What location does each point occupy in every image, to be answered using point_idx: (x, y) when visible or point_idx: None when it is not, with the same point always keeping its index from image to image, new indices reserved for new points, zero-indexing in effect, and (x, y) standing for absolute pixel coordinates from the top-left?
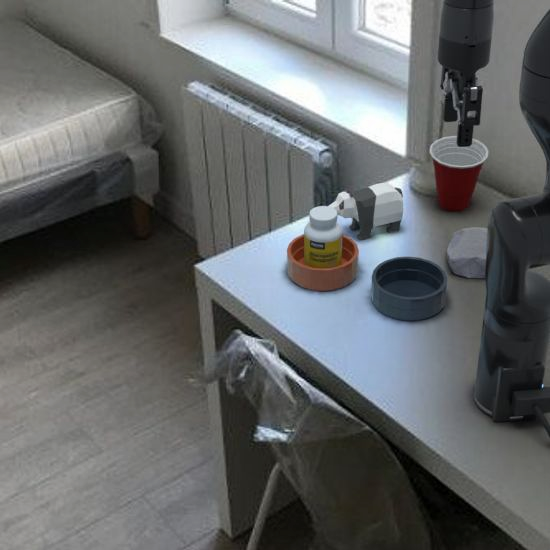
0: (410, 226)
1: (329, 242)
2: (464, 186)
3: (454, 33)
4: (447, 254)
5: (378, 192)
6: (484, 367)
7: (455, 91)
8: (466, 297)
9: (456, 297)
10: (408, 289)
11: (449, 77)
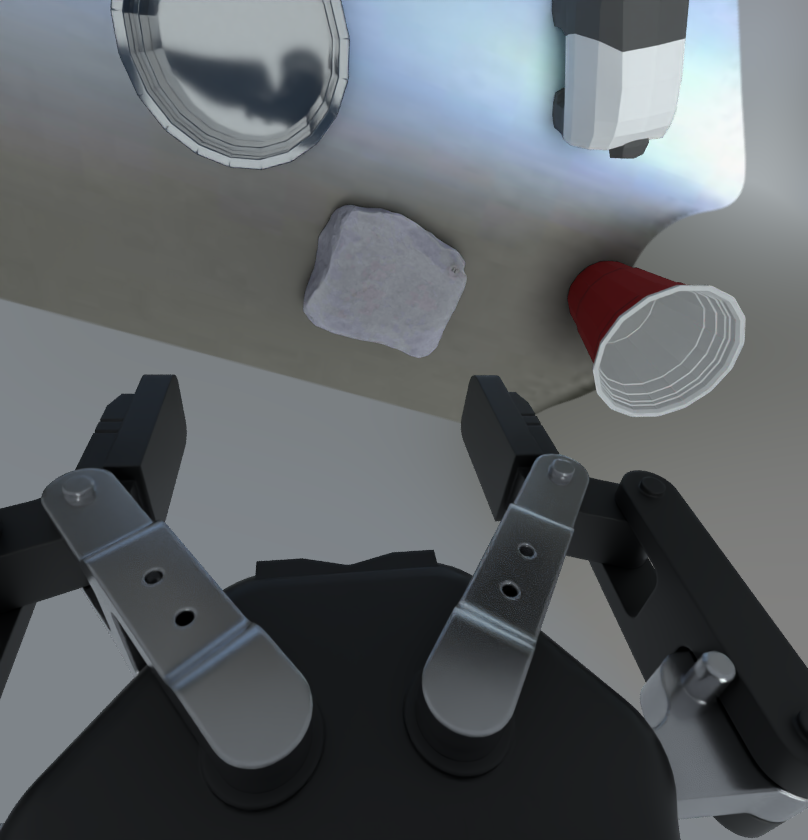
0: (559, 164)
1: None
2: (585, 327)
3: None
4: (392, 212)
5: (635, 66)
6: None
7: (155, 672)
8: (244, 208)
9: (246, 184)
10: (283, 59)
11: (417, 702)
